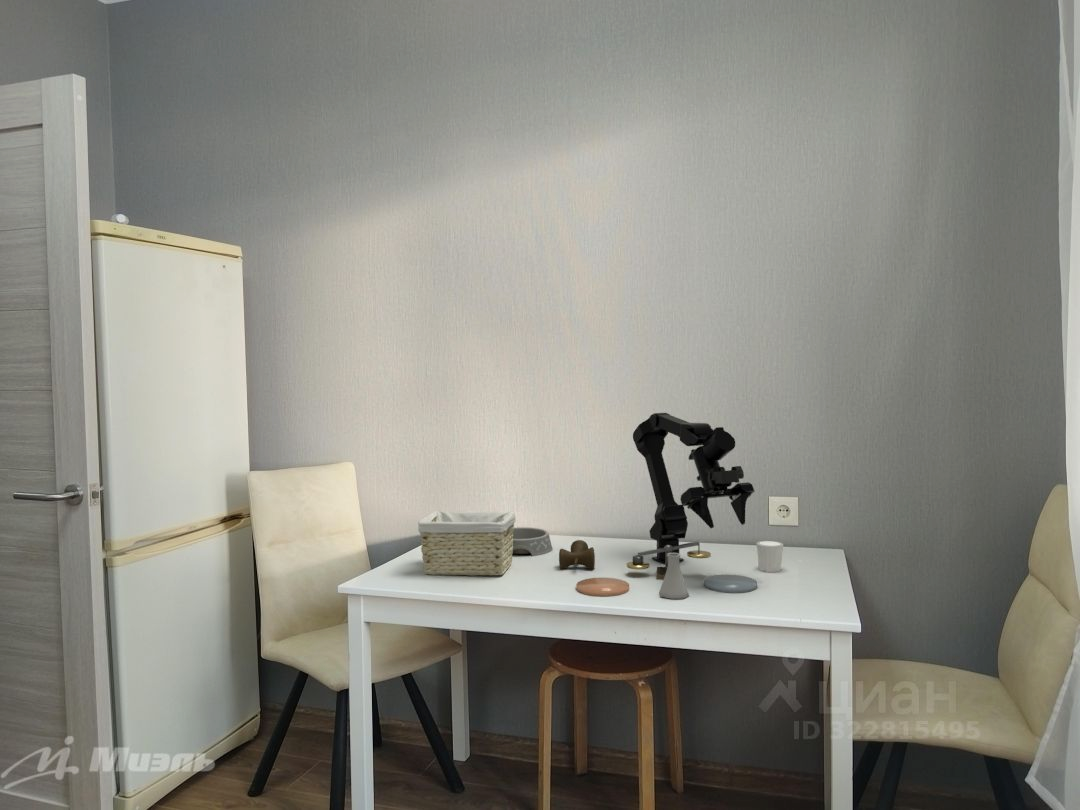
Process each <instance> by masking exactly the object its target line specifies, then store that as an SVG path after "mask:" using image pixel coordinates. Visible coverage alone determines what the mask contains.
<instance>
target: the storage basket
mask: <svg viewBox="0 0 1080 810" xmlns="http://www.w3.org/2000/svg"><path fill="white" fill-rule="evenodd" d="M516 521H517V520H516V514H515V512H514V511H466V510H465V511H464V510H462V511H461V510H460V511H459V510H439V509H438V510H434V511H433V512H430V513H429V514H428V515H426V516H425V517H423V518H422V519H420V520H419V521H418V528H417V531H418V533H419V534H420V541H421V542H420V546H421V548H420V549H421V550H420V551H421V554H422V556H421V557H422V561H423V563H422V564H423V565H422V566H423V573H424V574H425V575H430V576H431V575H432V576H437V575H443V576H445V575H446V576H458V575H459V576H474V577H475V576H483V577H484V576H503V575H504V574H505V573H506V572H507V570H508V569H509V568H510V566H511V565H512V564H513V531H514V528H515V527H514V526H515V523H516Z"/></svg>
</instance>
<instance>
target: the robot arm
mask: <svg viewBox="0 0 1080 810" xmlns="http://www.w3.org/2000/svg"><path fill="white" fill-rule="evenodd" d="M669 433H670V434H673V435H674V436H677V437H678V438H679V441H680V442H681V443H682V444H684V445H685V446H686V447H696V448H695V449H694V448H693V449H691V451H690V454H689V455H688V460H689V461H693V462H694V465H695V467H696V470H697V473H698V476H696V480H697V482H701V486H693V487H688V488H687V490H685V491H684V492H683V493H681V495H680V503H681V504H678V503H677V502H676V501H675V497H674V494H673V489H672V486H671V483H670V477H669V476H668V472H667V469H666V464H665V460H664V456H663V450H664V448H665V445H666V444H665V443H666V442H665V438H667V436H668V434H669ZM632 440H633V442H634V445H635V447H636V450H637V451H638V453H639V454H641V456H643V457H644V459H645V463H646V466H647V467H646V468H647V470H648V474H649V479H650V482H651V486H652V490H653V493H654V497H655V501H656V505H657V506H656V510H655V511H654V512H655V513H654V523H653V524H652V526H651V528H650V529H649V537H650V539H652V540H654V541H656V549H660V548H664V547H665V546H666V545H671V546H676V545H680V539H686V534H687V531H688V527H689V526H688V525H689V522H688V517H687V515H686V512H685V511H686V510H685V507H687V509H688V510H691V511H693V512H694V514H696V515H697V516H698V517H699V518H700V519H701V520H702V521H703V522H704V523H705V524H706V525H707V526H708V527H709V528H710V529H713V528H714V527H715V525H714V521H713V518H712V514H711V511H710V509H709V505H708V501H709V499H715V498H726V497H727V498H729V500H731V502H730V505H731V507H732V509H733V511H734V514H735V515H736V517H737V519H738V521H739V523H740V524H741V525H743V526H744V525H745V524H746V507H747V506H746V505H747V500H748V499H749V498H751V496H752V494H753V493H755V489H754V486H753V484H752V483H750V482H740V480H741V479H744V478H745V475H744V474H745V473H744V470H743V468H742V465H737V466H736V465H735V466H732V467H731V470H726V469H725V466H720V463H719V461H721V460H722V459H723V458H724V457H726V456H727V455H728V454H729V453H731V452H732V451H733V450H734V449H735V447H736V439H735V438H734V436H733V435H732V434H731V433H729V432H727V431H725V429H724V427H723V426H721V427H720V426H718V427H715V428H714V429H713V428H712V426H711V425H710V424H709V423H707V422H689V421H686V420H684V419H681V418H680V417H679V418H678V417H676V416H674V415H671V414H669V413H667V412H655V413H653V414H651V415H649V417H648V418H647V419H646V420H644V421H643V422H641V423H639V424H638V426H637V427H636V428H635V430H634V431H633V432H632ZM732 483H736V484H735V485H734V486H733V487H731V486H732V485H733V484H732ZM728 487H729V488H728ZM730 487H731V488H730ZM671 553H679V554H680V549H676V550H672V552H671ZM651 557H652V560H655V561H657V562H659V563H662V564H666V552H660V553H656V556H651ZM684 560H685V559H684V558H681V557H679V562H683V561H684Z"/></svg>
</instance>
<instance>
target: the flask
mask: <svg viewBox="0 0 1080 810" xmlns="http://www.w3.org/2000/svg"><path fill="white" fill-rule="evenodd" d="M667 556H668V567H667V571H666V574H665V577H664V580H662V583H661V586H660V589H659V591H658V595H659V596H660V597H661V598H666V599H672V600H673V599H675V600H676V599H685V598H688V597H689V596H690V595H689V591H688V589H687V588H688V587H687V586H686V583H685V580H684V577H683V574H682V573H683V572H682V570H681V566H680V561H679V558H681V553H680V552H679V553H668V554H667Z"/></svg>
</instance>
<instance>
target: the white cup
mask: <svg viewBox="0 0 1080 810" xmlns="http://www.w3.org/2000/svg"><path fill="white" fill-rule="evenodd" d="M783 551H784V543H783V542H780V541H777V540H776V541H775V540H760V541H757V542H756V553H757V562H758V569H759V570H760V571H761V572H766V573H767V572H768V573H776V572H781V570H782V561H783Z"/></svg>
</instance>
